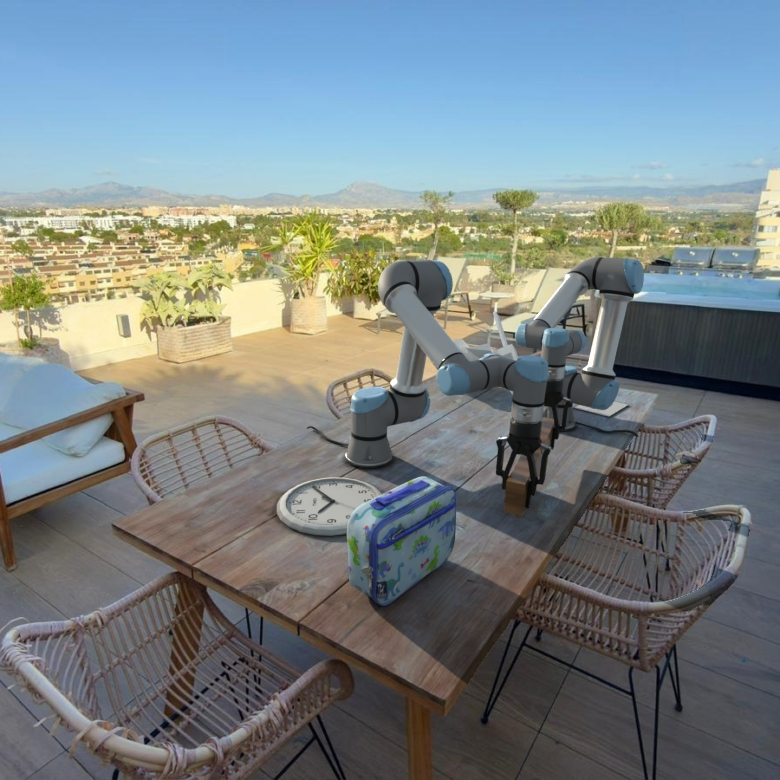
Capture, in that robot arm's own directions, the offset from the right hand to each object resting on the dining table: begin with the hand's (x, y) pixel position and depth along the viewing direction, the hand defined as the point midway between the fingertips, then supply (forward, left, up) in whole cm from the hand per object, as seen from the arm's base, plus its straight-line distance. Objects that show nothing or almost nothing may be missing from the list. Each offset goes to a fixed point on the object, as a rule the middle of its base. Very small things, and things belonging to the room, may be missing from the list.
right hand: (543, 446), depth 171 cm
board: (+6, +20, -1) cm, 21 cm away
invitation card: (-34, -61, -5) cm, 70 cm away
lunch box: (+40, +66, -5) cm, 78 cm away
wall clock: (+62, +38, -5) cm, 73 cm away
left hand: (+13, +39, 0) cm, 41 cm away
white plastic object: (+17, -73, -5) cm, 75 cm away
